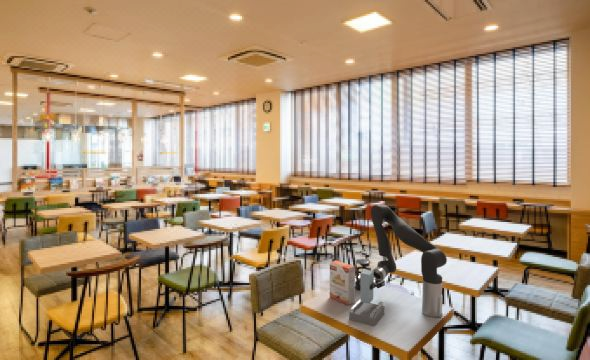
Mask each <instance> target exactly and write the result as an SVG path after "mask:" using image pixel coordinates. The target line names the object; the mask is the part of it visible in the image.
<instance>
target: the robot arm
mask: <svg viewBox="0 0 590 360" xmlns="http://www.w3.org/2000/svg"><path fill="white" fill-rule="evenodd" d="M370 218H371V221H372V226H373V229H374V232H375V236H376V241H377V249H378V255H379V256H380V257H384V258H386V259H387V260H380V261H378V262H377V265H376V267H374V268H373V269H371V271H374V279H373V283H372V284H371V285H370V290H372V289H373V290H374V289H376V288H377V289H380V288H382V287H385V286H386V280H385V278H386V277H387V276H388V275H389V273H390V274H393V273H395V272H396V271H397V264H396V261H395V259H394V256H393V253H392V248H391V247H392V246H391V241H390V239H389V238H390V237H389V236H388V235H387V232H386V231H385V229H384V226H383V221H384V222H386V223H387V224H388V225H390V226H391V228H392V230H393V233H394V235H395V236H396V238H398V240H400V241H401V242H402V243H403V244H405V245H406V246H409V247H410V248H412V249H413V248H414V249H415V250H418V251H419V252H421V253H422V254H421V258H420V264H421V265H420V267H421V269H420V271H421V275H422V301H421V302H422V303H421V304H422V305H421V306H422V307H421V311H422V314H423V315H425V316H427V317H430V318H440V317H441V316H442V313H443V276H442V275H441V274H439V273H438V269H439V268H441V267H443V266H446V264H447V261H448V259H447V255H446V254H445V252H444V251H442V250H441V249H440V248H438V247H437V246H436V245H434V244H432V243H431V242H430V241H428V240H427V239H426V238H424V236H422V235H421V234H420V233H418V232H417V231H416V230H415V228H412V227H411V226H410V225H409V224H408V223H406V221H404V220H403V219H402V218H400V217H399V216H398V215H397V214H396V213H395V212H394V210H392V209H391V208H390V207H389V206H388V205H385V204H374V205H372V206H371V208H370ZM359 276H360V278H359V286H360V288H361V275H359Z"/></svg>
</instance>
